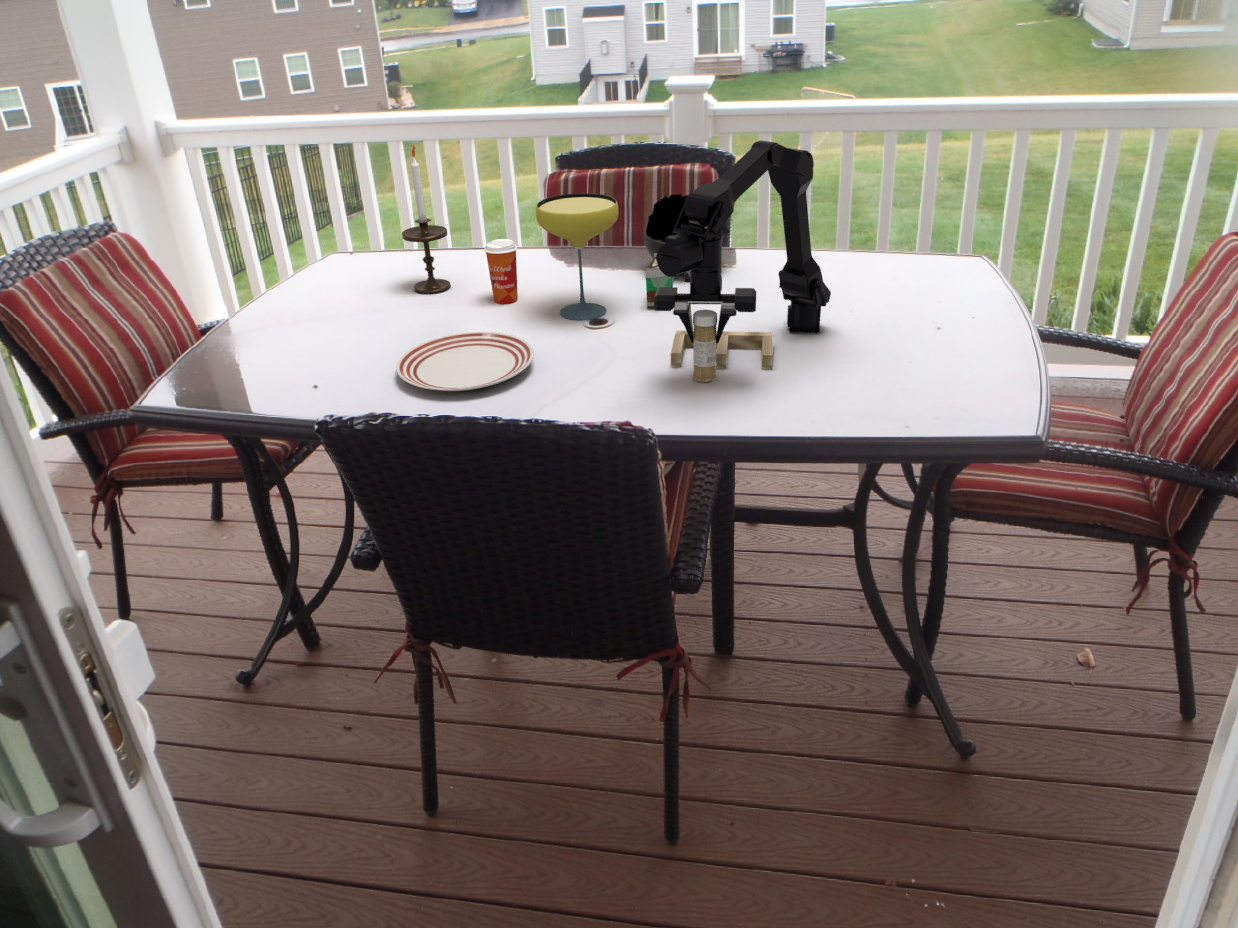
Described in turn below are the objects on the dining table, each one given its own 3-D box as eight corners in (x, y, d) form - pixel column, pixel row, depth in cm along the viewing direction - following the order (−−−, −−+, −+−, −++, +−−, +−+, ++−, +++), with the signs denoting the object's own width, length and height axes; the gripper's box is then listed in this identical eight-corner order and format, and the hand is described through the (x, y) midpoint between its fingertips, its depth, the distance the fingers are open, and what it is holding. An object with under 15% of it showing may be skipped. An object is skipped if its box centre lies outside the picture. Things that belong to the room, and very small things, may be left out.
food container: (672, 312, 212) (672, 270, 207) (646, 311, 213) (645, 269, 208) (680, 294, 222) (680, 253, 217) (655, 293, 223) (654, 252, 218)
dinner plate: (476, 413, 171) (474, 397, 169) (369, 384, 184) (366, 368, 182) (561, 360, 191) (560, 345, 189) (459, 337, 204) (457, 323, 202)
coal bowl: (682, 254, 249) (682, 183, 239) (739, 270, 236) (741, 195, 226) (628, 272, 237) (626, 198, 228) (684, 289, 224) (684, 212, 215)
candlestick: (461, 289, 231) (443, 143, 213) (421, 298, 226) (399, 150, 208) (443, 278, 239) (423, 137, 221) (403, 287, 234) (381, 143, 216)
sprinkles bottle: (710, 372, 182) (711, 307, 176) (720, 380, 178) (721, 315, 172) (688, 376, 181) (689, 311, 174) (698, 385, 177) (699, 318, 170)
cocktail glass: (548, 299, 222) (539, 194, 210) (623, 297, 221) (619, 191, 209) (540, 327, 206) (530, 215, 194) (621, 325, 206) (616, 213, 193)
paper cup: (484, 304, 221) (477, 246, 214) (499, 293, 227) (493, 237, 220) (513, 307, 218) (507, 249, 211) (528, 296, 224) (522, 239, 217)
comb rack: (771, 345, 192) (772, 332, 191) (772, 369, 182) (772, 355, 181) (675, 343, 195) (675, 330, 194) (670, 367, 185) (670, 353, 183)
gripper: (757, 249, 174) (754, 327, 182) (659, 249, 176) (660, 326, 184) (757, 268, 164) (754, 349, 172) (652, 267, 167) (654, 347, 175)
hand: (704, 342), depth 176 cm, fingers closed on sprinkles bottle, 4 cm apart
